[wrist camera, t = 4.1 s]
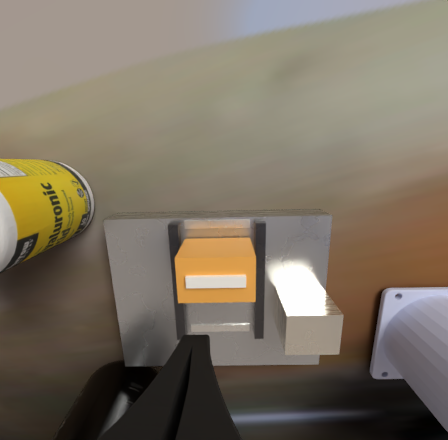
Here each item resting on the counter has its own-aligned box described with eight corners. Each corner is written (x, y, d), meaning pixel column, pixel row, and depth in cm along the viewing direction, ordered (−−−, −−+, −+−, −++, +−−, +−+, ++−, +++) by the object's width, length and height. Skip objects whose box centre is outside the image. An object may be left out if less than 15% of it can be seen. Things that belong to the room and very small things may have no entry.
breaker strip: (319, 208, 16) (359, 229, 11) (308, 343, 19) (337, 406, 14) (117, 212, 16) (71, 234, 11) (135, 345, 19) (104, 408, 14)
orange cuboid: (249, 237, 14) (256, 258, 11) (249, 274, 15) (256, 304, 12) (185, 238, 14) (173, 259, 11) (187, 275, 15) (177, 305, 12)
